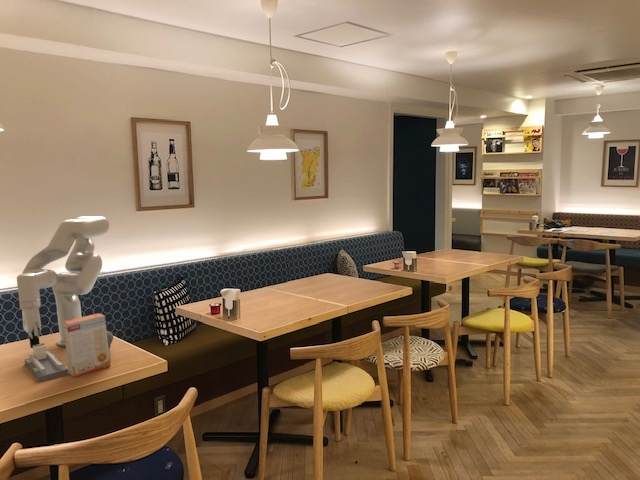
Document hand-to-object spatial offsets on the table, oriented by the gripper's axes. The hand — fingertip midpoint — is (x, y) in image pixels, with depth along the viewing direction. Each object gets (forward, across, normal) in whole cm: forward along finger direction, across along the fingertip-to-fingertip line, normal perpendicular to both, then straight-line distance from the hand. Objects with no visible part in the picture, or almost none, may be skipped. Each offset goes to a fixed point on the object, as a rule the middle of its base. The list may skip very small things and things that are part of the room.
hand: (35, 346), depth 216 cm
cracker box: (+6, +28, +12) cm, 32 cm away
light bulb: (+5, +16, +23) cm, 29 cm away
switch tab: (+3, +7, 0) cm, 7 cm away
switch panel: (+5, +15, 0) cm, 16 cm away
